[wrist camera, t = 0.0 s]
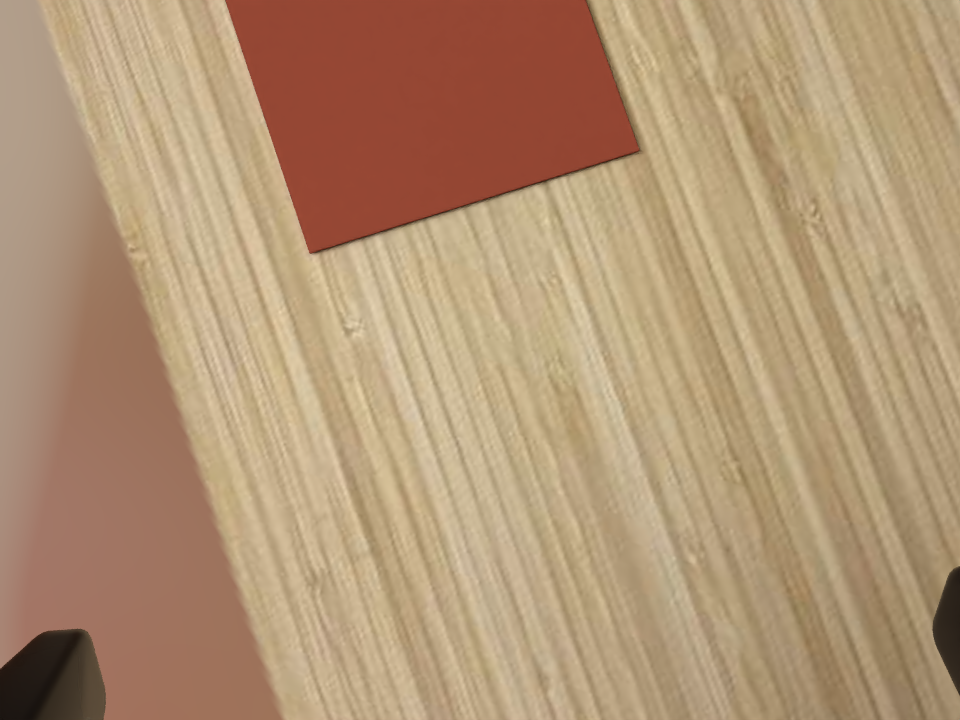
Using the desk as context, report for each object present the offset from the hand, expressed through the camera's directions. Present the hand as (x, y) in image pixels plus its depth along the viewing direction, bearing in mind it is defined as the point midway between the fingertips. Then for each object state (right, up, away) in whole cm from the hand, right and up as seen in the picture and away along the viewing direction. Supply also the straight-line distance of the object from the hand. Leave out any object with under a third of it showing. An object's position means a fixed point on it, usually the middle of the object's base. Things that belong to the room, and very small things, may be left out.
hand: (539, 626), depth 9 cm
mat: (-3, +15, +16) cm, 22 cm away
